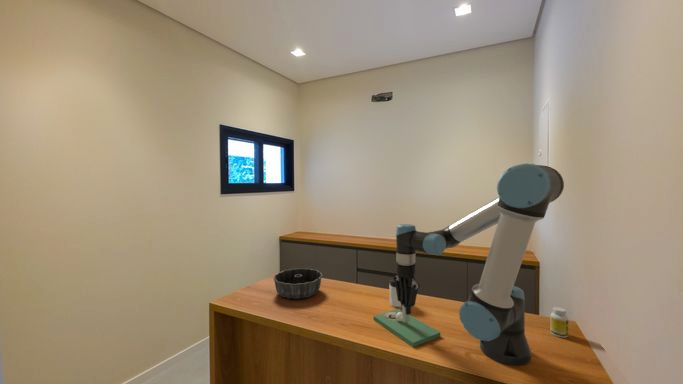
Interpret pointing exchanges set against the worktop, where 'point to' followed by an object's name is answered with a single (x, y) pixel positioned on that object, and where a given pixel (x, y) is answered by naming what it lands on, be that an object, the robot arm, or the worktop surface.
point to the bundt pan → (298, 283)
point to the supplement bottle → (559, 322)
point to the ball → (399, 316)
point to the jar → (393, 294)
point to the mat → (407, 328)
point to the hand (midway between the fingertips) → (406, 320)
